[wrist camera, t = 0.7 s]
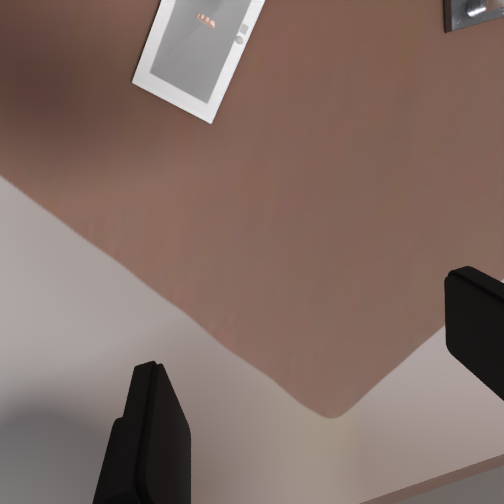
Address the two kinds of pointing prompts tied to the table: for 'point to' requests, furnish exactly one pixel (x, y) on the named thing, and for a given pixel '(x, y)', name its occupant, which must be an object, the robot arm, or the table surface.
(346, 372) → the table surface
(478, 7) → the chassis
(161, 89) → the touchpad
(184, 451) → the robot arm
